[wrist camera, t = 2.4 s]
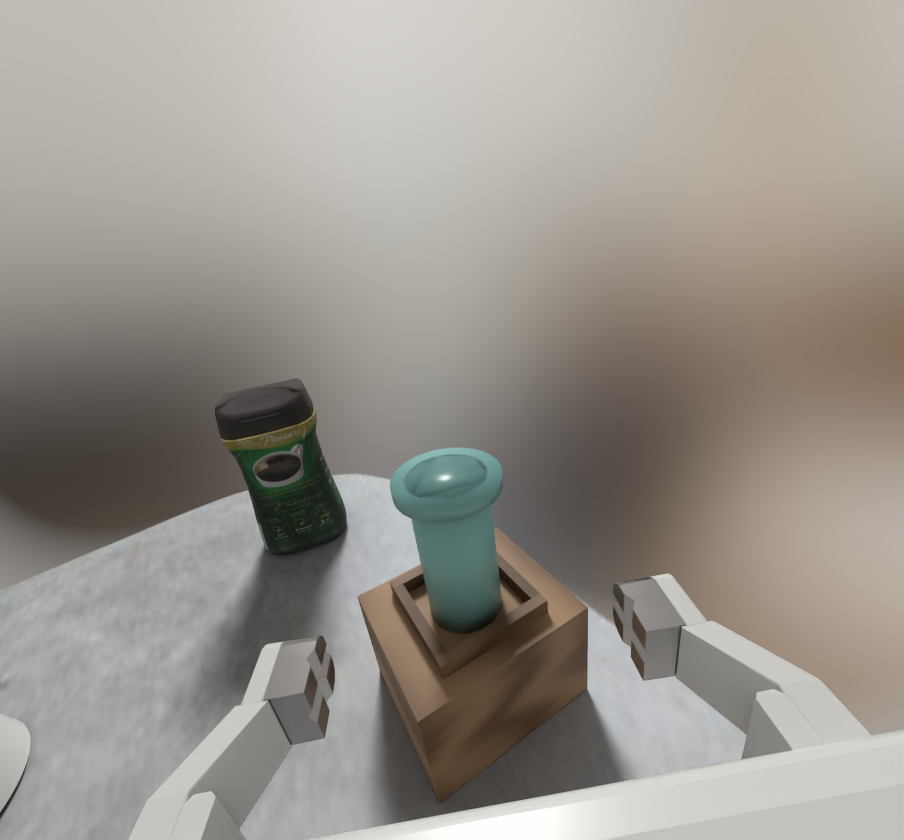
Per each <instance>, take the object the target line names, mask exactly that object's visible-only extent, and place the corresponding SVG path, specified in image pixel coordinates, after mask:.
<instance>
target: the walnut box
mask: <svg viewBox="0 0 904 840" xmlns="http://www.w3.org/2000/svg"><path fill="white" fill-rule="evenodd" d="M494 533H495V542H496V551H497V560H498V570H499V579H500V588H501V597H502V606H501V610H500V612H499V614H498V616H497V617H496V619H495V620H494V621H493V622H492V623H491V624H489V625H488V626H486V627H485V628H483V629H481V630H479V631H476V632H472V633H455V632H451V631H448V630H446V629H444V628H442V627H441V626H440V625H439V624H438V623H437V622H436V621H435V620H434V618H433V616H432V613H431V609H430V604H429V600H428V595H427V590H426V585H425V581H424V576H423V571H422V566H421V565H419V566H417V567H415V568H413V569H411V570H409V571H407V572H405V573H403V574H401V575H399V576H397V577H395V578H393V579H391V580H389V581H387V582H385V583H383V584H381V585H379V586H377V587H375V588H373V589H371V590H369V591H367V592H365V593H363V594H361V595H359V596H357V597H358V600H359V603H360V606H361V610H362V613H363V616H364V620H365V623H366V626H367V629H368V633H369V636H370V639H371V642H372V646H373V649H374V652H375V656H376V659H377V662H378V665H379V669H380V671H381V674H382V676H383V678H384V680H385V683H386V685H387V687H388V689H389V692H390V694H391V696H392V698H393V701H394V703H395V705H396V707H397V709H398V712H399V714H400V716H401V718H402V721H403V723H404V725H405V727H406V730H407V732H408V734H409V736H410V739H411V741H412V743H413V745H414V748H415V750H416V752H417V754H418V756H419V759H420V761H421V763H422V765H423V768H424V770H425V772H426V774H427V777H428V779H429V781H430V783H431V786H432V788H433V790H434V792H435V794H436V797H437V799H438V801H439V803H441V802H443V801H444V800H445V799H447V798H448V797H449V796H450V795H452V794H453V793H454V792H456V791H457V790H458V789H459V788H461V787H462V786H463V785H464V784H466V783H467V782H468V781H470V780H471V779H472V778H473V777H475V776H476V775H477V774H479V773H480V772H481V771H482V770H484V769H485V768H486V767H487V766H489V765H490V764H491V763H493V762H494V761H495V760H496V759H498V758H499V757H500V756H502V755H503V754H504V753H505V752H507V751H508V750H509V749H510V748H512V747H513V746H514V745H516V744H517V743H518V742H519V741H521V740H522V739H523V738H525V737H526V736H527V735H528V734H530V733H531V732H532V731H533V730H535V729H536V728H537V727H539V726H540V725H541V724H542V723H544V722H545V721H546V720H548V719H549V718H550V717H551V716H553V715H554V714H555V713H557V712H558V711H559V710H560V709H562V708H563V707H564V706H565V705H567V704H568V703H569V702H571V701H572V700H573V699H574V698H576V697H577V696H578V695H580V694H581V693H582V692H583V691H585V690H586V689H587V651H588V607H587V606H585V605H584V604H583V603H582V602H581V601H580V600H579V599H577V598H576V597H575V596H574V595H573V594H572V593H571V592H570V591H568V590H567V589H566V588H565V587H564V586H563V585H562V584H560V583H559V582H558V581H557V580H556V579H555V578H554V577H552V576H551V575H550V574H549V573H548V572H547V571H546V570H544V569H543V568H542V567H541V566H540V565H539V564H538V563H537V562H535V561H534V560H533V559H532V558H531V557H530V556H529V555H527V554H526V553H525V552H524V551H523V550H522V549H521V548H520V547H518V546H517V545H516V544H515V543H514V542H513V541H512V540H510V539H509V538H508V537H507V536H506V535H505V534H504V533H503V532H501V531H500V530H499V529H498V528H497V527H494Z"/></svg>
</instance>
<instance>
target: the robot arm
mask: <svg viewBox="0 0 904 840" xmlns="http://www.w3.org/2000/svg"><path fill="white" fill-rule="evenodd" d="M613 594H614V596H615V598H616V599H617V601H616V602H615V603H614V605H613V616H614V620H615V625H616V627H617V630H618V632H619V635H620V637H621V639H622V641H623V642H624V643H626V644H627V645H629V646H630V647H631V658H632V660H633V662H634V664H635V666H636V668H637V669H638V671H639V673H640V675H641V677H642V679H643V681H645V680H652V679H658V678H665V677H672V676H676V678H677V679H678V680H680V681H681V682H682V683H683V684H685V685H686V686H687V687H688V688H689V689H691V690H692V691H693V692H694V693H696V694H697V695H698V696H699V697H701V698H702V699H703V700H704V701H706V702H707V703H708V704H709V705H710V706H712V707H713V708H714V709H715V710H717V711H718V712H719V713H720V714H722V715H723V716H724V717H725V718H727V719H728V720H729V721H730V722H731V723H733V724H734V725H735V726H736V727H738V728H739V729H740V730H741V731H743V732H744V733H745V734H746V735H747V737H746V741H745V746H744V750H743V754H742V759H741V760H736V761H731V762H725V763H720V764H715V765H709V766H704V767H698V768H693V769H687V770H682V771H677V772H671V773H666V774H660V775H655V776H650V777H644V778H639V779H633V780H628V781H622V782H617V783H611V784H606V785H600V786H595V787H590V788H584V789H579V790H573V791H568V792H562V793H557V794H551V795H546V796H540V797H535V798H530V799H524V800H519V801H513V802H508V803H502V804H497V805H492V806H486V807H481V808H475V809H470V810H465V811H459V812H454V813H448V814H443V815H438V816H432V817H427V818H421V819H416V820H411V821H405V822H400V823H394V824H389V825H383V826H378V827H373V828H367V829H362V830H356V831H351V832H345V833H340V834H335V835H329V836H324V837H318V838H313V839H307V840H904V730H899V731H893V732H888V733H883V734H877V735H872V736H871V735H870V734H869V733H868V732H867V731H866V729H865V728H864V727H863V726H862V725H861V724H860V723H859V722H858V721H857V720H856V719H855V717H853V716H852V714H851V713H850V712H849V711H848V710H847V709H846V708H845V707H844V706H843V705H842V703H841V702H840V701H839V700H838V699H837V698H836V697H835V696H834V695H833V694H832V692H831V691H830V690H829V689H828V688H827V687H826V686H825V685H824V684H823V683H822V682H821V681H820V679H818V678H816V677H814V676H812V675H811V674H809V673H807V672H805V671H803V670H802V669H800V668H798V667H796V666H794V665H792V664H791V663H789V662H787V661H785V660H783V659H782V658H780V657H778V656H776V655H774V654H773V653H771V652H769V651H767V650H765V649H763V648H761V647H760V646H758V645H756V644H754V643H752V642H751V641H749V640H747V639H745V638H743V637H742V636H740V635H738V634H736V633H734V632H733V631H731V630H729V629H727V628H725V627H723V626H722V625H720V624H718V623H716V622H714V621H709V622H708V621H707V620H706V619H705V618H704V616H703V615H702V614H701V613H700V611H699V610H698V608H697V607H696V606H695V605H694V603H693V602H692V601H691V599H690V598H689V597H688V596H687V594H686V593H685V592H684V590H683V589H682V588H681V587H680V585H679V584H678V583H677V581H676V580H675V579H674V578H673V576H671V575H670V574H663V575H658V576H652V577H645V578H640V579H635V580H629V581H624V582H619V583H615V584H614V586H613ZM325 649H326V642H325V640H324V638H323V636H316V637H309V638H303V639H296V640H289V641H284V642H277V643H271V644H266V645H265V646H264V648H263V649H262V650H261V653H260V655H259V658H258V661H257V663H256V666H255V669H254V671H253V674H252V677H251V679H250V682H249V685H248V687H247V690H246V693H245V695H244V698H243V701H242V703H241V705H239V706H235V707H234V708H233V709H232V710H231V711H230V712H229V713H228V715H227V716H226V717H225V718H224V719H223V720H222V721H221V722H220V723H219V724H218V725H217V726H216V727H215V728H214V730H213V731H212V732H211V733H210V734H209V735H208V736H207V737H206V738H205V739H204V740H203V741H202V742H201V743H200V745H199V746H198V747H197V748H196V749H195V750H194V751H193V752H192V753H191V754H190V755H189V756H188V757H187V758H186V760H185V761H184V762H183V763H182V764H181V765H180V766H179V767H178V768H177V769H176V770H175V771H174V772H173V773H172V775H171V776H170V777H169V778H168V779H167V780H166V781H165V782H164V783H163V784H162V785H161V786H160V787H159V788H158V790H157V791H156V792H155V793H154V794H153V795H152V796H151V797H150V798H149V799H148V800H147V802H146V804H145V806H144V808H143V810H142V812H141V814H140V816H139V819H138V821H137V823H136V825H135V827H134V829H133V831H132V833H131V835H130V837H129V839H128V840H246V838H245V837H244V836H243V834H242V833H241V831H240V830H239V828H240V827H241V825H242V824H243V822H244V821H245V819H246V817H247V816H248V814H249V813H250V811H251V810H252V808H253V807H254V805H255V804H256V802H257V800H258V799H259V797H260V796H261V794H262V793H263V791H264V790H265V788H266V787H267V785H268V783H269V782H270V780H271V779H272V777H273V776H274V774H275V773H276V771H277V770H278V768H279V766H280V765H281V763H282V762H283V760H284V759H285V757H286V756H287V754H288V753H289V751H290V749H291V748H292V746H291V745H295V744H300V743H304V742H309V741H314V740H318V739H323V738H325V733H326V728H327V722H328V717H329V708H328V706H327V703H326V702H327V700H328V699H329V698H330V696H331V695H332V694H333V689H334V683H335V669H334V664H333V660H332V657H331V655H329V654H328V653H326V652H325ZM29 752H30V734H29V731H28V729H27V727H26V726H25V725H24V724H23V723H22V722H21V721H19V720H17V719H14V718H11V717H8V716H5V715H2V714H0V812H1V810H2V809H3V807H4V806H5V804H6V803H7V801H8V800H9V798H10V796H11V795H12V793H13V791H14V789H15V788H16V786H17V784H18V782H19V780H20V778H21V776H22V773H23V771H24V769H25V766H26V763H27V760H28V757H29Z"/></svg>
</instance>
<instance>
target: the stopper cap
mask: <svg viewBox="0 0 904 840" xmlns="http://www.w3.org/2000/svg"><path fill="white" fill-rule="evenodd" d="M390 489H391V494H392V498H393V502H394V505H395V506H396V508H397V509H398V510H399V511H400V512H401V513H402V514H404V515H405V516H407V517H409V518H411V519H412V524H413V528H414V533H415V538H416V543H417V547H418V552H419V557H420V562H421V566H422V571H423V576H424V581H425V585H426V590H427V595H428V600H429V604H430V609H431V613H432V616H433V618H434V620H435V621H436V622H437V623H438V624H439V625H440V626H441V627H442V628H444V629H446V630H448V631H451V632H455V633H472V632H476V631H479V630H481V629H483V628H485V627H486V626H488V625H489V624H491V623H492V622H493V621H494V620H495V619H496V617H497V616H498V614H499V612H500V610H501V606H502V597H501V588H500V579H499V570H498V560H497V551H496V542H495V533H494V524H493V515H492V506H491V505H492V504H493V503H494V502H495V501H496V500H497V498H498V497H499V495H500V494H501V491H502V489H503V479H502V469H501V466H500V464H499V462H498V461H497V460H496V459H495V458H494V457H493V456H491V455H489V454H487V453H485V452H483V451H479V450H475V449H469V448H445V449H439V450H434V451H431V452H427V453H424V454H421V455H419V456H417V457H415V458H412V459H411V460H409V461H407V462H406V463H404V464H403V465H402V466H401V467H399V469H397V471H396V472H395V473H394V475H393V477H392V479H391V482H390Z"/></svg>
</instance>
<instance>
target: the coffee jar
mask: <svg viewBox="0 0 904 840" xmlns="http://www.w3.org/2000/svg"><path fill="white" fill-rule="evenodd" d="M215 416H216V421H217V424H218V429H219V433H220V439H221V441H222V443H223V444H224V446H225V447H226V448H227V449H228V450H229V451H230V452H231V453H232V455H233V456H234V457H235V458H236V460H237V462H238V464H239V466H240V469H241V470H242V473H243V476H244V479H245V481H246V484H247V487H248V490H249V494H250V497H251V500H252V504H253V508H254V511H255V515H256V519H257V523H258V526H259V530H260V533H261V536H262V539H263V542H264V544H265V547H266V548H267V550H269V551H270V552H272V553H275V554H285V553H290V552H294V551H298V550H302V549H305V548H308V547H311V546H314V545H317V544H320V543H322V542H325V541H327V540H330V539H332V538H334V537H336V536H337V535H338V534H339V533H340V532H341V531H342V530H343V528H344V527H345V524H346V519H347V517H346V510H345V506H344V503H343V501H342V498H341V495H340V493H339V491H338V488H337V486H336V484H335V482H334V480H333V477H332V475H331V473H330V471H329V468H328V466H327V464H326V461H325V459H324V456H323V454H322V451H321V448H320V445H319V442H318V438H317V435H316V422H317V415H316V410H315V407H314V405H313V403H312V401H311V399H310V397H309V395H308V393H307V391H306V389H305V387H304V385H303V384H302V382H301V380H299V379H297V378H296V379H291V380H287V381H283V382H278V383H272V384H268V385H263V386H258V387H254V388H250V389H245V390H241V391H237V392H233V393H228V394H224V395H223V396H222V397H221V398H220V399H219V401H218V402H217V404H216V406H215Z"/></svg>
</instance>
